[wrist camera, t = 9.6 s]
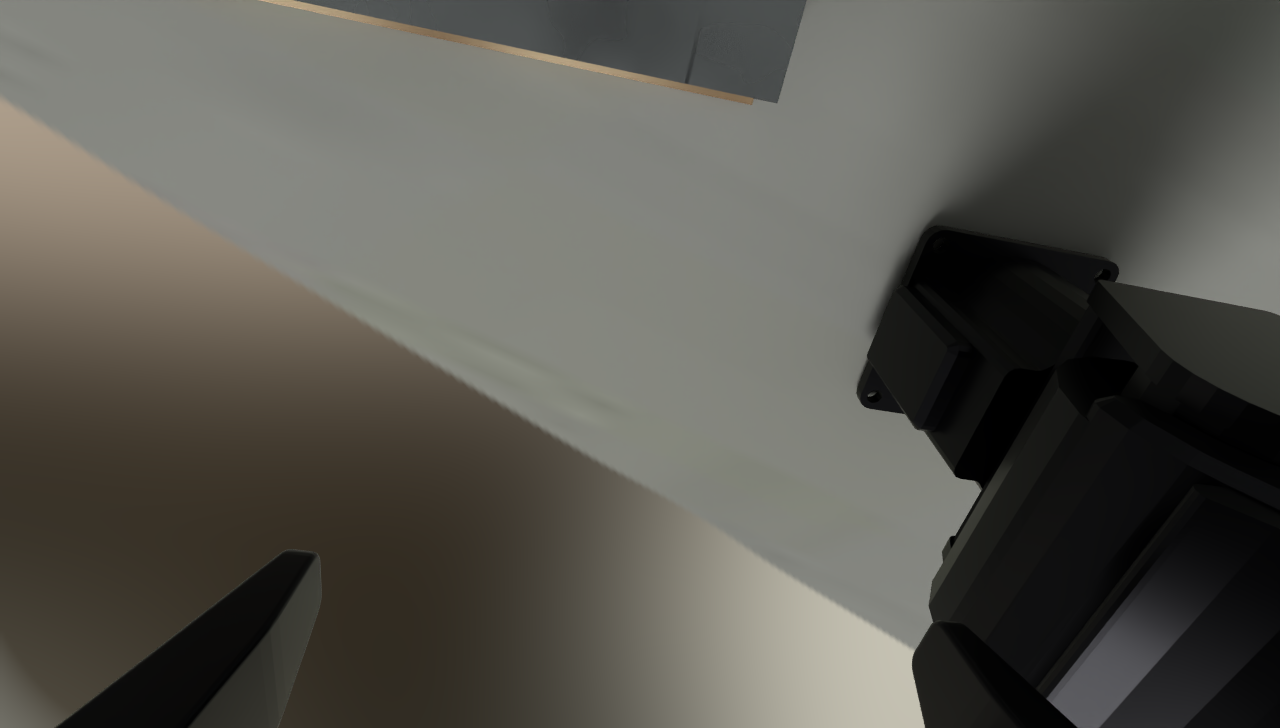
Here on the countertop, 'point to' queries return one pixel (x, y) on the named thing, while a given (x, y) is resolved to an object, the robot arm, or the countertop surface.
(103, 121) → the countertop surface
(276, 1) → the mat
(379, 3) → the metal u-shaped bracket
